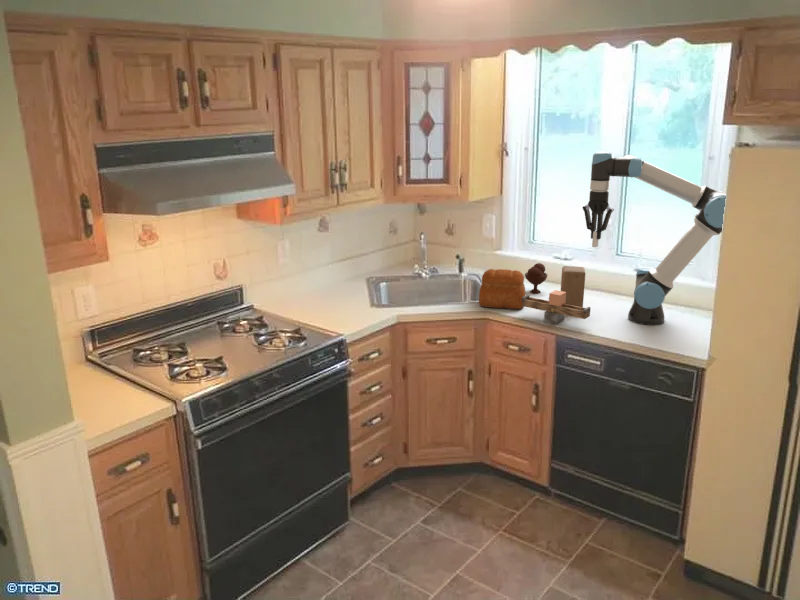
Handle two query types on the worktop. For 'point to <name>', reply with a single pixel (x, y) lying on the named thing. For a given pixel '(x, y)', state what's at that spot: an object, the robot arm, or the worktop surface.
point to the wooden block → (573, 285)
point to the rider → (557, 298)
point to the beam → (555, 310)
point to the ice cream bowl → (536, 276)
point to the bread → (502, 289)
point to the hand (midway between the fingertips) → (595, 246)
